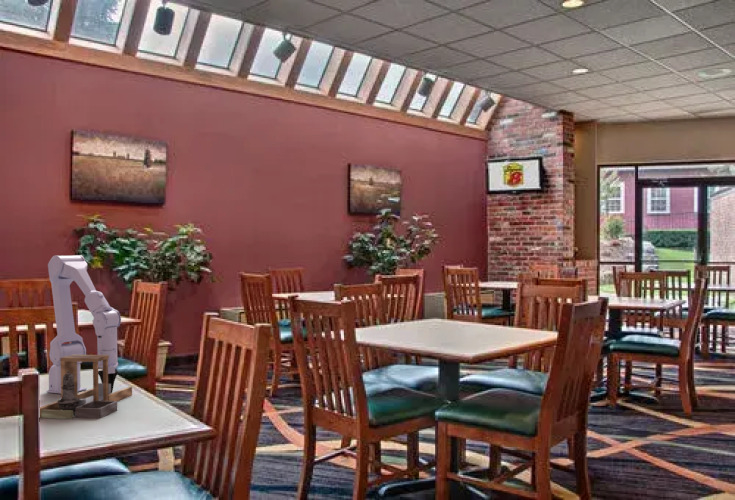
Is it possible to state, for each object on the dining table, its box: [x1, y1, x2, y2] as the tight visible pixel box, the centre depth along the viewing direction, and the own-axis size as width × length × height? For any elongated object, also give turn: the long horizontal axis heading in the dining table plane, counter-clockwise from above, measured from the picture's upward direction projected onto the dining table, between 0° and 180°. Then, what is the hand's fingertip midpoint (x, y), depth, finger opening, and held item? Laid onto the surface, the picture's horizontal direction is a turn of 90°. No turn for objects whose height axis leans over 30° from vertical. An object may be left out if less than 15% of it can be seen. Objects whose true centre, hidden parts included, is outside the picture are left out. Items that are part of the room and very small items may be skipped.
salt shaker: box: [57, 371, 80, 416], centre depth 184 cm, size 6×6×12 cm
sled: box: [73, 382, 111, 410], centre depth 194 cm, size 15×6×5 cm, turn 170°
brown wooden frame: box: [39, 354, 133, 420], centre depth 192 cm, size 30×18×15 cm, turn 170°
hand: (108, 393), depth 204 cm, fingers closed
